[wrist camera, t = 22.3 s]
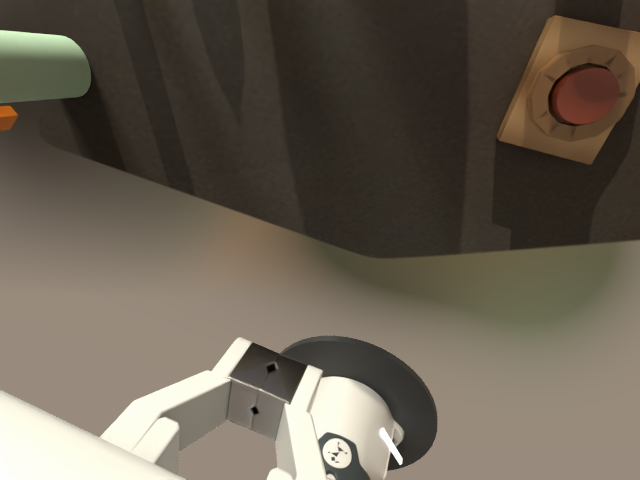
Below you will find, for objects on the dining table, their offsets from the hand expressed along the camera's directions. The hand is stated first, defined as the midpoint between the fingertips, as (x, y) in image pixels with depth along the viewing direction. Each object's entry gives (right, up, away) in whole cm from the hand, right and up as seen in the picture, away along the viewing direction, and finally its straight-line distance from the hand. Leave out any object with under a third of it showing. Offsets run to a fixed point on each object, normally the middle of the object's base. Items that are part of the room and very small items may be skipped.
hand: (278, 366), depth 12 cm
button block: (+23, +17, +20) cm, 35 cm away
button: (+22, +16, +17) cm, 32 cm away
